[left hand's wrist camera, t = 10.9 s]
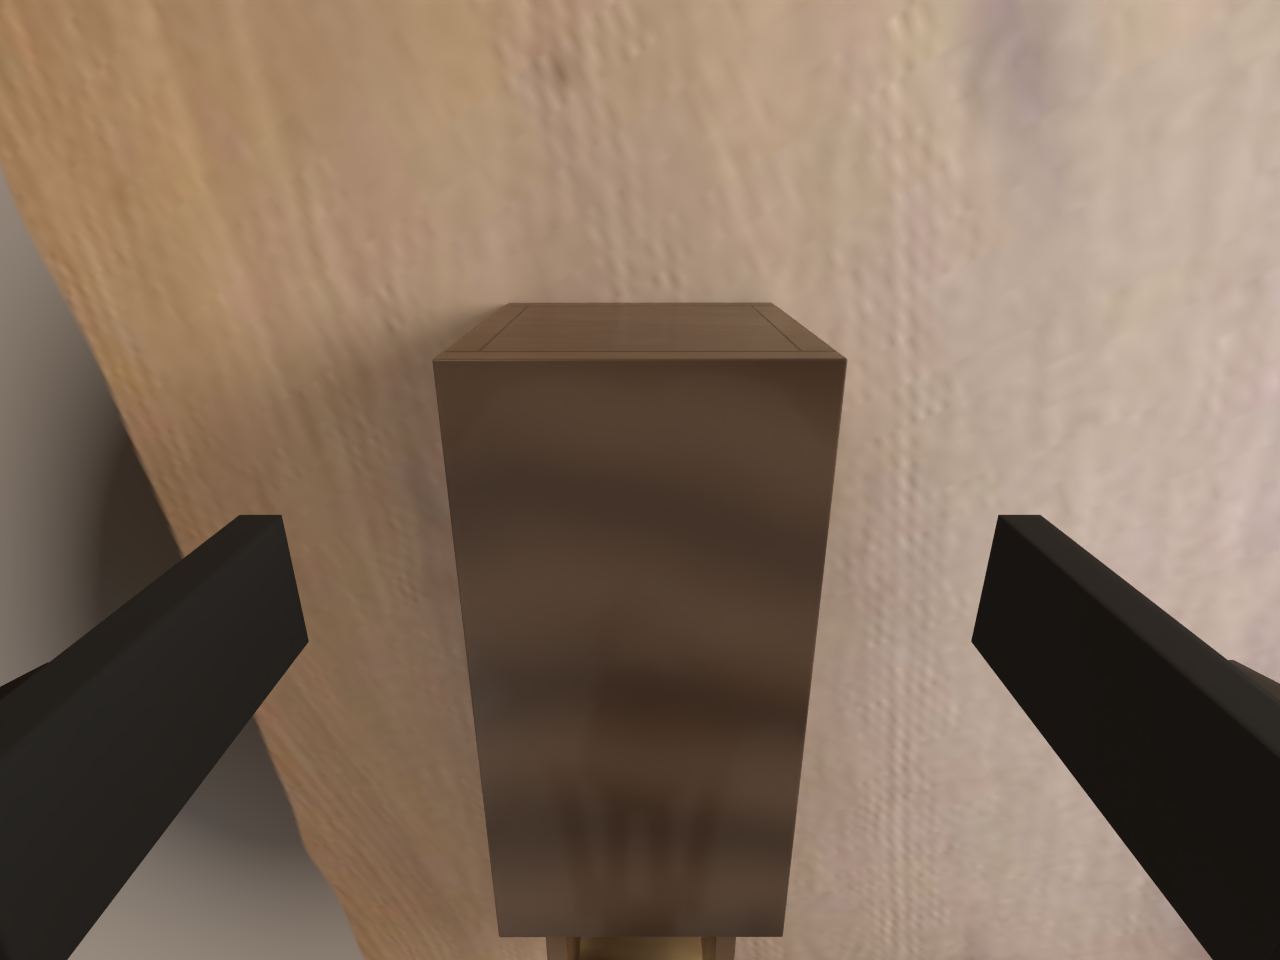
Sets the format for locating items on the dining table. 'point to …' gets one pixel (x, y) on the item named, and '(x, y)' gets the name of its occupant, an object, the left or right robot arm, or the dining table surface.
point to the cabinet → (640, 604)
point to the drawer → (640, 948)
